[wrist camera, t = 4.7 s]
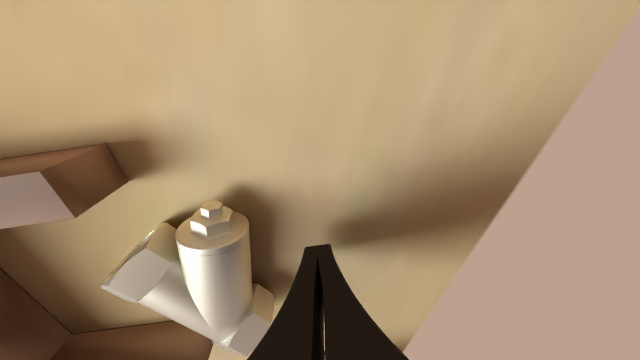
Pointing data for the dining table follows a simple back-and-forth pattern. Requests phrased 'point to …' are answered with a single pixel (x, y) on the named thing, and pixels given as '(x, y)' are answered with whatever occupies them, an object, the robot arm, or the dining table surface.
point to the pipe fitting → (199, 278)
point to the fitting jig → (60, 204)
